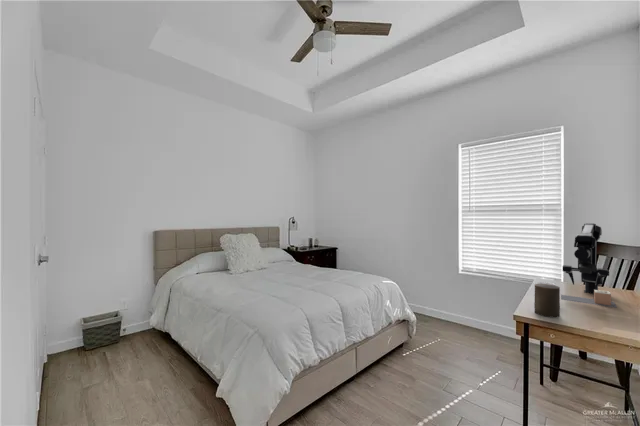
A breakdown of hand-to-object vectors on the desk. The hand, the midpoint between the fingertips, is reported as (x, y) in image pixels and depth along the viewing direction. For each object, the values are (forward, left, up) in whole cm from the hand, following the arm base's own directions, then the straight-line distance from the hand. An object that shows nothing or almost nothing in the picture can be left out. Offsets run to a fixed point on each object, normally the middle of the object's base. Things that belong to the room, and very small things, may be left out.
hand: (584, 285), depth 159 cm
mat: (0, +1, -8) cm, 8 cm away
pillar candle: (+37, -15, -9) cm, 41 cm away
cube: (0, +7, -2) cm, 7 cm away
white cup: (+15, -16, -9) cm, 24 cm away
